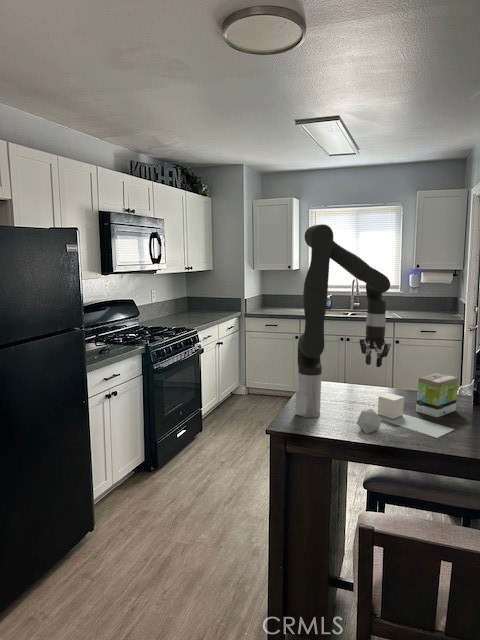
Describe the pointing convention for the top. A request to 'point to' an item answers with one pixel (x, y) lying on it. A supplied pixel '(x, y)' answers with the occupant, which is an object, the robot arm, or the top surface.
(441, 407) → the tea box
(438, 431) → the mat
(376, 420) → the die
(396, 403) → the cream block
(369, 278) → the robot arm
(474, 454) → the top surface
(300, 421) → the top surface
